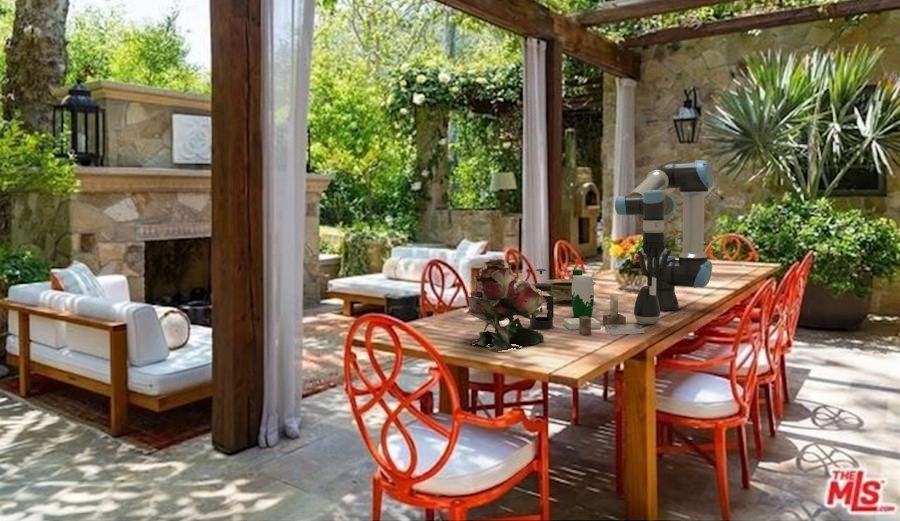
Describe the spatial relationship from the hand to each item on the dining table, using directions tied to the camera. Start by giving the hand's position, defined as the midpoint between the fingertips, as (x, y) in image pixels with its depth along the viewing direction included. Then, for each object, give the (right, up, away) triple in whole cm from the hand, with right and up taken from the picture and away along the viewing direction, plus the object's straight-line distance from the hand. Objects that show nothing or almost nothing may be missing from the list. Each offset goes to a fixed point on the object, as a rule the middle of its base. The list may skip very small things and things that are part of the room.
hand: (652, 294), depth 258 cm
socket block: (-11, -13, +13) cm, 21 cm away
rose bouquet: (-58, -17, -11) cm, 61 cm away
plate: (-10, -15, +1) cm, 18 cm away
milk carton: (-20, -11, +32) cm, 39 cm away
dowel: (-11, -13, +13) cm, 21 cm away
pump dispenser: (+2, -12, +16) cm, 20 cm away
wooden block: (-25, -15, 0) cm, 29 cm away
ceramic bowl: (-19, -7, +69) cm, 72 cm away
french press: (-40, -14, +13) cm, 44 cm away
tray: (-24, -13, +12) cm, 30 cm away
